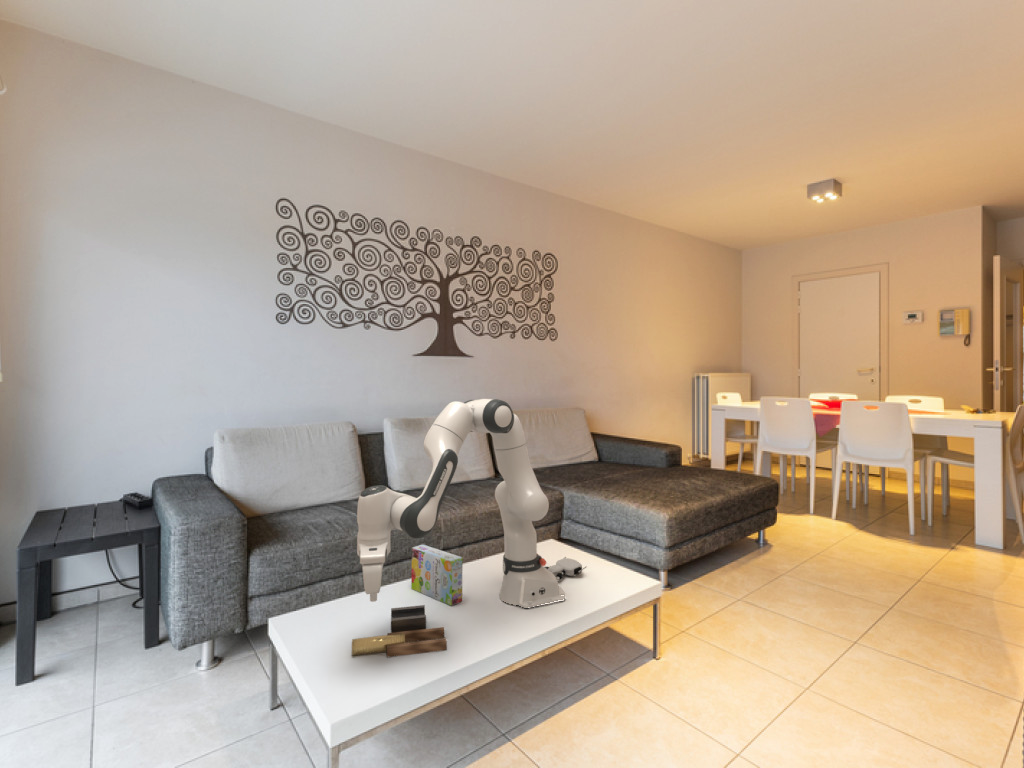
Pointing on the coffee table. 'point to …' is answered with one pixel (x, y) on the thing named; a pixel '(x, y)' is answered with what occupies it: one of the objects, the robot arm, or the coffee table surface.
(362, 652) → the brass rod
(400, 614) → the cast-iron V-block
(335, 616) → the coffee table surface
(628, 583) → the coffee table surface
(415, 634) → the copper channel
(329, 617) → the coffee table surface
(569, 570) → the robot toy
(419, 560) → the snack box
